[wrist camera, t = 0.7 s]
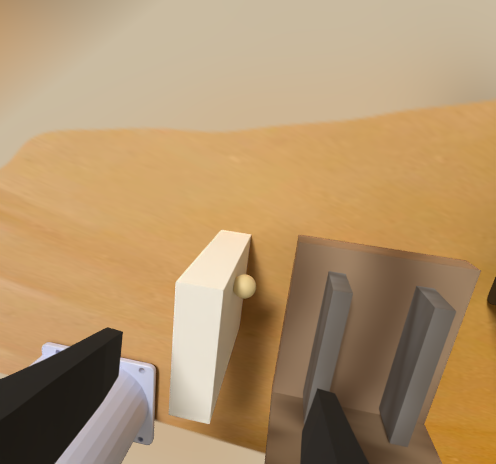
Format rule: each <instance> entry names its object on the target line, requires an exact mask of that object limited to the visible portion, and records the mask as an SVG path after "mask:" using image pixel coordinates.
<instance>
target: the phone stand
mask: <svg viewBox="0 0 496 464" xmlns="http://www.w3.org/2000/svg"><path fill="white" fill-rule="evenodd" d="M488 301H489V303H490V304H493V305H496V277H495V280H494V282H493V285H492V287H491V290H490V292H489V295H488Z"/></svg>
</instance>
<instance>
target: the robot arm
mask: <svg viewBox="0 0 496 464" xmlns="http://www.w3.org/2000/svg"><path fill="white" fill-rule="evenodd" d="M122 335H123V332H122V331H118V330H115V329H111V328H108V327H107V328H105V329H103V330H101V331H99V332H97V333H95V334H93V335H91V336H89V337H88V338H86V339H84V340H82V341H80V342H78V343H76V344H74V345H72V346H65V345H60V344H55V343H51V342H47V343H45V344H44V345H43V346H42V356H41V357H40V358H38V359H37V360H36V361H35V362H34V363H32V364H31V365H30V366H29V367H27V368H25V369H23V370H20V371H18V372H16V373H14V374H12V375H9V376H7V377H5V378H2V379H0V464H121V463H122V461H123V459H124V457H125V456H126V454H127V452H128V450H129V448H130V446H131V444H132V443H133V442H136V443H141V444H145V445H150V444H151V443H152V441H153V439H154V415H155V387H156V368H155V366H154V365H152V364H149V363H145V362H140V361H135V360H131V359H126V358H121V346H122ZM142 368H143V369H144V370H143V369H142ZM300 464H369V462H368V460H367V458H366V456H365V454H364V452H363V450H362V448H361V446H360V444H359V442H358V440H357V438H356V436H355V434H354V432H353V430H352V428H351V426H350V424H349V422H348V420H347V418H346V415H345V413H344V411H343V409H342V407H341V404H340V402H339V400H338V398H337V396H336V394H335V393H332V392H329V391H325V390H322V389H318V388H317V391H316V394H315V396H314V399H313V402H312V405H311V408H310V410H309V413H308V416H307V419H306V422H305V425H304V427H303V430H302V440H301V458H300Z"/></svg>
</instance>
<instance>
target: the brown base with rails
mask: <svg viewBox="0 0 496 464" xmlns="http://www.w3.org/2000/svg"><path fill="white" fill-rule="evenodd" d="M480 272H481V270H479V269H478V268H476V267H475V266H473V265H472V264H470V263H469V262H468V261H465V260H458V259H452V258H446V257H439V256H433V255H426V254H420V253H413V252H407V251H400V250H394V249H388V248H381V247H375V246H368V245H362V244H355V243H349V242H342V241H336V240H330V239H323V238H317V237H310V236H304V235H299V236H298V242H297V248H296V253H295V259H294V265H293V270H292V276H291V282H290V288H289V293H288V299H287V305H286V311H285V316H284V322H283V328H282V334H281V339H280V345H279V351H278V357H277V362H276V368H275V374H274V380H273V385H272V394H271V405H270V415H269V425H268V435H267V445H266V455H265V464H300V458H301V440H302V430H303V427H304V425H305V422H306V419H307V416H308V413H309V410H310V408H311V405H312V402H313V399H314V396H315V394H316V391H317V388H318V389H322V390H325V391H329V392H332V393H335V394H336V396H337V398H338V400H339V402H340V404H341V407H342V409H343V411H344V413H345V415H346V418H347V420H348V422H349V424H350V426H351V428H352V430H353V432H354V434H355V436H356V438H357V440H358V442H359V444H360V446H361V448H362V450H363V452H364V454H365V456H366V458H367V460H368V462H369V464H442V462H441V460H440V458H439V456H438V454H437V451H436V449H435V447H434V445H433V443H432V440H431V438H430V436H429V434H428V432H427V429H426V427H425V425H424V423H425V420H426V418H427V415H428V412H429V410H430V407H431V404H432V401H433V399H434V396H435V393H436V391H437V388H438V385H439V382H440V380H441V377H442V374H443V372H444V369H445V366H446V364H447V361H448V358H449V355H450V353H451V350H452V347H453V345H454V342H455V339H456V337H457V334H458V331H459V328H460V326H461V323H462V320H463V318H464V315H465V312H466V309H467V307H468V304H469V301H470V299H471V296H472V293H473V291H474V288H475V285H476V282H477V280H478V277H479V274H480Z"/></svg>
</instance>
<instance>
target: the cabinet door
mask: <svg viewBox="0 0 496 464" xmlns="http://www.w3.org/2000/svg"><path fill="white" fill-rule="evenodd" d="M250 240H251V234H244V233H238V232H232V231H225V230H221V231H220V232H219V233H218V234H217V235H216V236H215V238H214V239H213V240H212V241H211V242H210V243H209V244H208V246H207V247H206V248H205V249H204V250H203V251H202V252H201V254H200V255H199V256H198V257H197V258H196V259H195V260H194V262H193V263H192V264H191V265H190V266H189V267H188V268H187V270H186V271H185V272H184V273H183V274H182V275H181V276H180V278H179V279H178V280H177V281H176V288H175V307H174V326H173V344H172V363H171V381H170V400H169V415H172V416H176V417H181V418H185V419H189V420H194V421H198V422H202V423H207V424H210V421H211V418H212V414H213V411H214V408H215V405H216V402H217V398H218V395H219V392H220V389H221V385H222V382H223V379H224V376H225V372H226V369H227V366H228V363H229V360H230V356H231V353H232V350H233V347H234V343H235V340H236V337H237V334H238V331H239V327H240V320H241V312H242V304H243V299H245V298H249V297H251V296H252V295H253V294H254V293H255V291H256V282H255V280H254V279H253V278H252V277H251V276H249V275H246V272H247V264H248V256H249V248H250Z"/></svg>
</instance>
